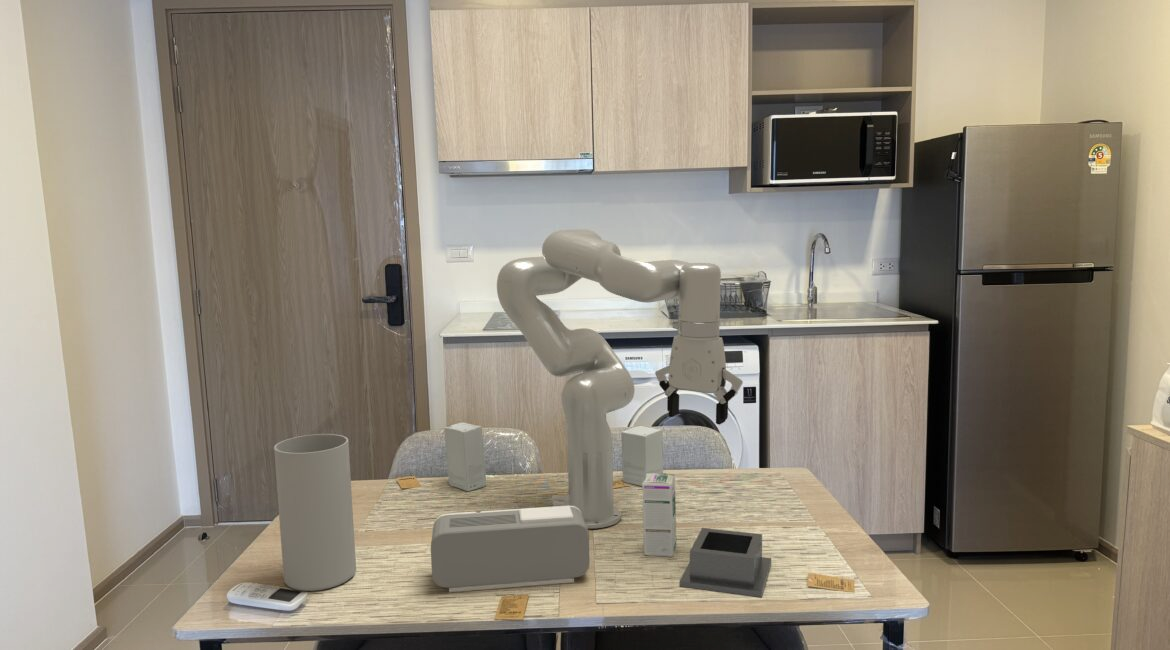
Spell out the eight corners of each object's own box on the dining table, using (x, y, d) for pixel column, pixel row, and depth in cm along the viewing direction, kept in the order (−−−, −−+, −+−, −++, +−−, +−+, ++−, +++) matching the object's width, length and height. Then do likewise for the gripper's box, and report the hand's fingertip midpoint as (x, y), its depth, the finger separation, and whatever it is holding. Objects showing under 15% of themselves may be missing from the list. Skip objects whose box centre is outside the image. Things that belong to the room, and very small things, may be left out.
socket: (679, 586, 140) (679, 553, 140) (695, 554, 153) (695, 524, 153) (761, 597, 136) (761, 563, 135) (771, 563, 149) (771, 532, 148)
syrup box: (673, 557, 152) (673, 482, 150) (642, 555, 154) (641, 481, 152) (676, 545, 158) (676, 473, 156) (646, 543, 159) (645, 472, 157)
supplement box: (664, 480, 197) (663, 429, 195) (645, 488, 192) (645, 436, 190) (639, 474, 202) (639, 424, 200) (621, 481, 196) (620, 431, 195)
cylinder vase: (286, 598, 139) (276, 457, 136) (282, 570, 150) (272, 439, 147) (361, 584, 144) (352, 447, 141) (351, 557, 155) (343, 430, 152)
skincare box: (487, 486, 195) (484, 426, 193) (466, 492, 191) (464, 431, 189) (466, 479, 201) (464, 420, 199) (446, 484, 197) (443, 425, 195)
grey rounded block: (583, 561, 152) (581, 500, 150) (590, 583, 143) (588, 518, 141) (435, 572, 148) (432, 510, 147) (432, 595, 139) (429, 529, 138)
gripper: (648, 328, 152) (647, 417, 155) (735, 336, 143) (732, 430, 146) (666, 323, 158) (664, 408, 161) (750, 331, 149) (747, 421, 152)
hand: (696, 419), depth 153 cm, fingers open, 9 cm apart
